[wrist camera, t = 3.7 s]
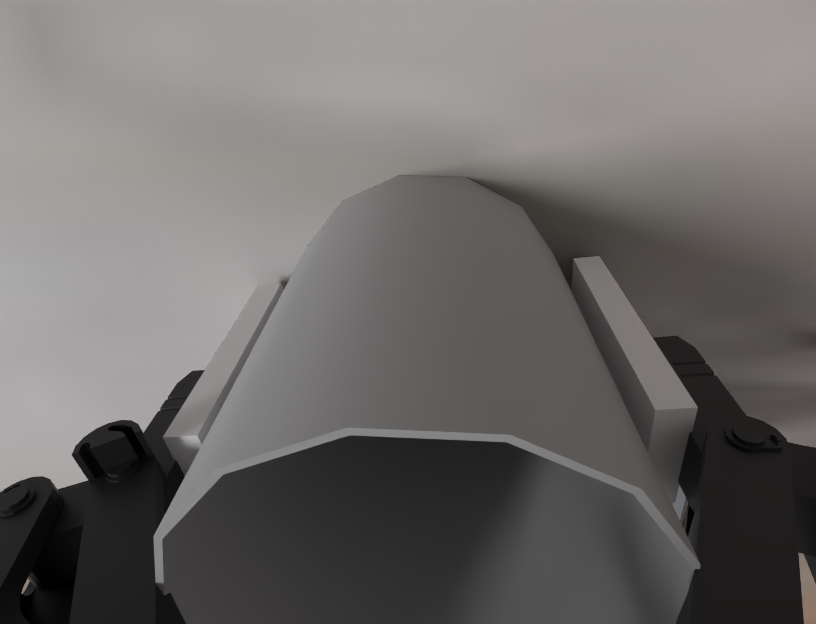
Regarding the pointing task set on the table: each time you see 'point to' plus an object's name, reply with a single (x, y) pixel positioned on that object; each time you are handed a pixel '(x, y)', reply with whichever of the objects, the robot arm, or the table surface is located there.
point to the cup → (424, 441)
